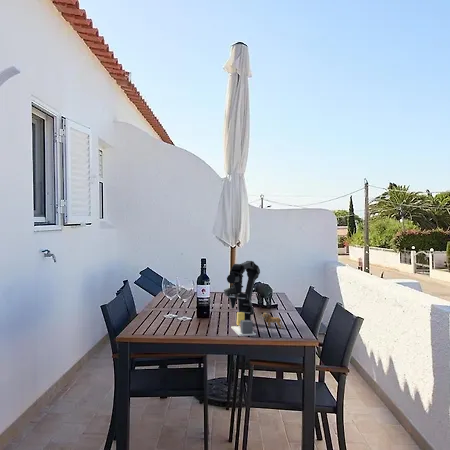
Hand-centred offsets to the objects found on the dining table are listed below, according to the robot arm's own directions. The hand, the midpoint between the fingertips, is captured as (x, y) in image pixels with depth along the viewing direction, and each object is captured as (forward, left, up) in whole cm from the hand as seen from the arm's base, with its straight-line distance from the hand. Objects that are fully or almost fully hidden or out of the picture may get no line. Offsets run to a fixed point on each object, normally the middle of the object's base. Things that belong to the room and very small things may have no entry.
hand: (236, 308), depth 296 cm
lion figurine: (+2, +23, -12) cm, 26 cm away
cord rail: (+11, +2, -12) cm, 16 cm away
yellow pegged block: (+4, +2, -9) cm, 10 cm away
